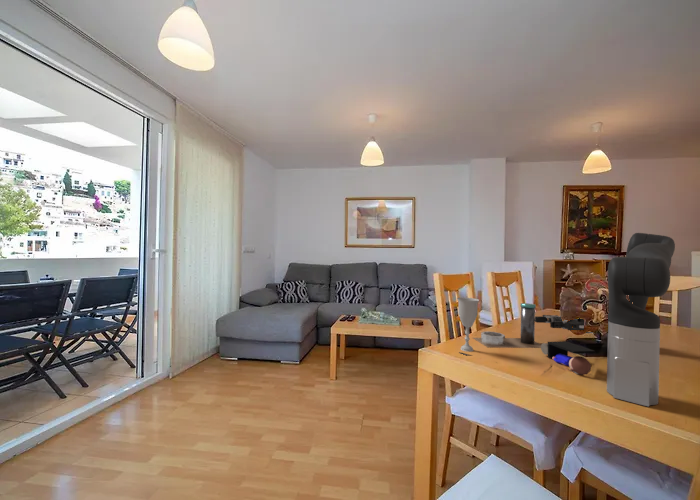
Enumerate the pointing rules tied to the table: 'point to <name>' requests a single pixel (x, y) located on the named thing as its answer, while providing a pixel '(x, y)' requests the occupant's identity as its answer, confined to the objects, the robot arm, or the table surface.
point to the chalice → (467, 318)
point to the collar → (493, 338)
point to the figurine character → (560, 354)
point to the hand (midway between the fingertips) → (542, 321)
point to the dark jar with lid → (527, 323)
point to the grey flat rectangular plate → (511, 344)
